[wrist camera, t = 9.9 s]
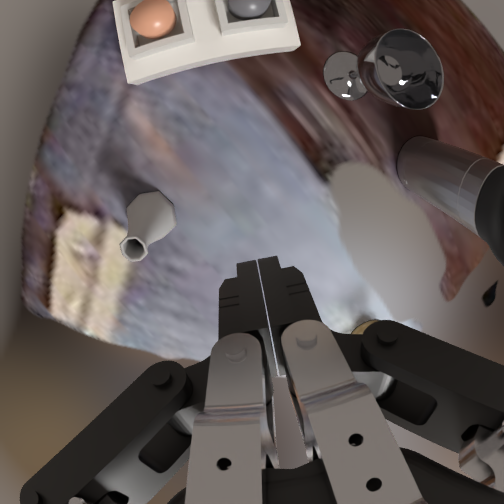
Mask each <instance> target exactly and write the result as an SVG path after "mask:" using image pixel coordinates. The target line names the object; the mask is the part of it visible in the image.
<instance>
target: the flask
mask: <svg viewBox="0 0 504 504" xmlns="http://www.w3.org/2000/svg"><path fill="white" fill-rule="evenodd" d="M127 217H128V234H127V236H126V237H125V239H124V240H123V241H122V242H121V243H120V244H119V245H120V248H121V252H122V255H123V256H125V257H126V258H127V259H128V260H129V261H130V262H132V261H141V260H142V259H143V258H144V257H145V256H146V255H147V254H148V250H147V247H148V245H149V244H151V243H153V242H155V241H157V240H159V239H162V238H163V237H165V236H166V235H167V234H168V233H169V232H170V231H171V230H172V229H173V228H174V227H175V226H176V225H177V222H176V216H175V210H174V205H173V204H172V203H171V202H170V201H169V200H168V199H167V198H166V197H165V196H163V195H162V194H161V193H160V192H159V191H157V192H150V193H143V194H139V195H138V196H137V197H136V198H135V199H134V200H133V201H132V202H131V204H130V205H129V206H128V207H127Z"/></svg>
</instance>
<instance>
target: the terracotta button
mask: <svg viewBox="0 0 504 504" xmlns="http://www.w3.org/2000/svg"><path fill="white" fill-rule="evenodd" d="M176 22H177V16H176V14H175V12H174V10H173V8H172V6H171V5H170V3H169V2H168V1H167V0H144V1H142V2H140V3H139V4H138V5H137V6H136V7H135V8H134V9H133V11H132V12H131V15H130V25H131V27H132V28H133V29H134V30H135V31H136V32H138V33H139V34H140V35H142V36H143V37H145V38H147V39H159V38H162V37H164V36H166V35H168V34H169V33H170V32H171V31H172V30H173V29H174V27H175V25H176Z"/></svg>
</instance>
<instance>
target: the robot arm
mask: <svg viewBox="0 0 504 504" xmlns="http://www.w3.org/2000/svg"><path fill="white" fill-rule="evenodd" d="M397 171H398V176H399V179H400V181H401V183H402V184H403V185H404V186H405V187H406V188H407V189H408V190H410V191H412V192H413V193H415V194H417V195H418V196H420V197H421V198H423V199H424V200H426V201H428V202H429V203H431V204H432V205H434V206H436V207H437V208H439V209H440V210H442V211H443V212H445V213H446V214H448V215H449V216H451V217H452V218H454V219H455V220H457V221H458V222H459V223H461V224H462V225H464V226H465V227H467V228H468V229H469V230H471V231H472V232H474V233H475V234H476V235H478V236H479V237H480V238H482V239H483V240H484V241H485V242H487V243H488V245H489V247H490V248H491V250H492V252H493V254H494V255H495V257H496V258H497V260H498V261H499V262H500V263H501V264H502V265H503V266H504V165H503V164H500V163H498V162H496V161H493V160H491V159H488V158H486V157H483V156H480V155H478V154H475V153H473V152H470V151H467V150H464V149H461V148H459V147H456V146H453V145H450V144H447V143H443V142H441V141H437V140H434V139H431V138H427V137H423V136H417V137H413V138H411V139H410V140H408V141H407V142H406V143H405V144H404V146H403V147H402V149H401V151H400V153H399V156H398V161H397ZM258 264H259V269H260V275H261V280H262V285H263V290H264V295H265V301H266V306H267V311H268V316H269V322H270V327H271V332H272V337H273V343H274V348H275V353H276V358H277V364H278V369H279V374H280V376H281V375H286V377H287V382H288V387H289V394H290V397H291V401H292V404H293V408H294V411H295V414H296V417H297V421H298V424H299V427H300V430H301V434H302V437H303V441H304V444H305V448H306V453H307V457H308V461H309V463H307V464H305V465H303V466H300V467H298V468H295V469H279V462H278V455H277V448H276V432H275V418H274V417H275V416H274V400H273V384H272V378H271V377H276V376H278V375H277V369H276V364H275V358H274V353H273V347H272V342H271V336H270V331H269V325H268V320H267V315H266V309H265V304H264V298H263V293H262V288H261V283H260V278H259V273H258V268H257V263H256V260H252V261H247V262H242V263H237V277H235V278H230V279H225V280H224V282H223V283H222V285H221V287H220V288H219V340H218V341H217V342H216V344H215V345H214V346H213V348H212V351H211V355H210V356H209V357H208V358H206V359H205V360H203V361H201V362H199V363H197V364H194V365H192V366H189V367H187V368H183V367H182V366H181V365H180V364H178V363H177V362H174V361H162V362H158V363H156V364H154V365H152V366H150V367H149V368H148V369H147V370H146V371H145V372H144V373H142V374H141V376H139V377H138V378H137V379H136V380H135V381H134V382H133V383H132V384H131V385H130V386H129V387H128V388H127V389H126V390H125V391H124V392H123V393H122V394H120V395H119V396H118V397H117V398H116V399H115V400H114V401H113V402H112V403H111V404H110V405H109V406H108V407H107V408H106V409H105V410H104V411H102V412H101V413H100V414H99V415H98V416H97V417H96V418H95V419H94V420H93V421H92V422H91V423H90V424H89V425H88V426H87V427H86V428H85V429H83V430H82V431H81V432H80V433H79V434H78V435H77V436H76V437H75V438H74V439H73V440H72V441H71V442H69V443H68V444H67V445H66V446H65V447H64V448H63V449H62V450H61V451H60V452H59V453H58V454H57V455H55V456H54V457H53V458H52V459H51V460H50V461H49V462H48V463H47V464H46V465H45V466H44V467H42V468H41V469H40V470H39V471H38V472H37V473H36V474H35V475H34V476H33V477H32V478H31V479H29V480H28V481H27V482H26V483H25V484H24V485H23V487H22V489H21V493H20V504H147V503H148V502H149V501H150V500H151V499H152V498H153V496H155V495H156V494H157V493H158V491H159V490H160V489H161V488H162V487H163V486H164V485H165V484H166V483H167V482H168V481H169V480H170V479H171V478H172V477H173V476H174V475H175V474H176V472H178V470H179V469H180V468H181V467H182V466H183V465H184V464H185V463H186V461H188V459H189V466H188V476H187V486H186V488H184V489H183V490H181V491H180V492H179V493H177V494H176V495H175V496H174V497H173V498H172V499H171V500H170V501H169V502H168V503H167V504H504V366H503V365H501V364H498V363H496V362H493V361H491V360H488V359H486V358H483V357H481V356H478V355H476V354H474V353H471V352H469V351H466V350H464V349H461V348H459V347H456V346H454V345H451V344H449V343H447V342H444V341H442V340H439V339H437V338H434V337H432V336H429V335H427V334H425V333H422V332H420V331H417V330H415V329H413V328H410V327H408V326H405V325H403V324H401V323H398V322H395V321H391V320H381V321H377V322H374V323H372V324H370V325H369V326H368V327H367V328H366V329H365V330H364V332H363V334H342V333H337V332H334V331H332V330H330V329H329V328H328V327H327V326H326V325H325V324H324V323H323V322H322V320H321V318H320V316H319V313H318V310H317V308H316V305H315V303H314V300H313V298H312V295H311V293H310V291H309V288H308V285H307V284H306V280H305V278H304V275H303V273H302V272H301V271H299V270H298V269H297V268H295V267H294V266H292V267H287V268H282V269H281V267H280V264H279V261H278V257H277V256H273V257H268V258H262V259H258ZM386 419H387V420H389V421H391V422H393V423H394V424H397V425H398V426H400V427H402V428H404V429H406V430H409V431H410V432H413V433H415V434H417V435H419V436H421V437H423V438H425V439H427V440H429V441H432V442H434V443H436V444H438V445H440V446H442V447H445V448H447V449H449V450H452V451H454V452H456V453H458V454H459V467H460V469H461V470H462V471H464V472H465V473H466V474H468V475H469V476H471V477H472V478H473V479H470V478H468V477H466V476H464V475H462V474H459V473H457V472H455V471H453V470H451V469H449V468H447V467H445V466H443V465H441V464H439V463H437V462H435V461H433V460H431V459H429V458H427V457H425V456H423V455H421V454H419V453H417V452H415V451H412V450H409V449H405V448H400V447H399V446H398V444H397V442H396V440H395V438H394V436H393V434H392V432H391V430H390V428H389V426H388V424H387V422H386Z"/></svg>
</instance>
